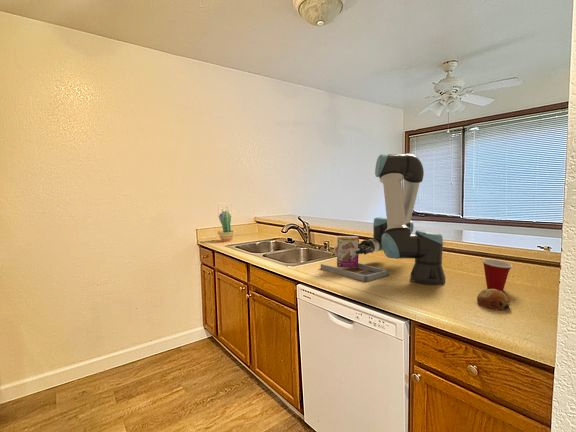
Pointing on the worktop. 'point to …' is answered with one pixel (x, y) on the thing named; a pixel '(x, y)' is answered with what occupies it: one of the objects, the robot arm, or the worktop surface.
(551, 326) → the worktop surface
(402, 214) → the robot arm
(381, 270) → the channel
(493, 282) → the plastic cup
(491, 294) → the bread roll
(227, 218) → the potted cactus
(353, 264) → the candy bar box
